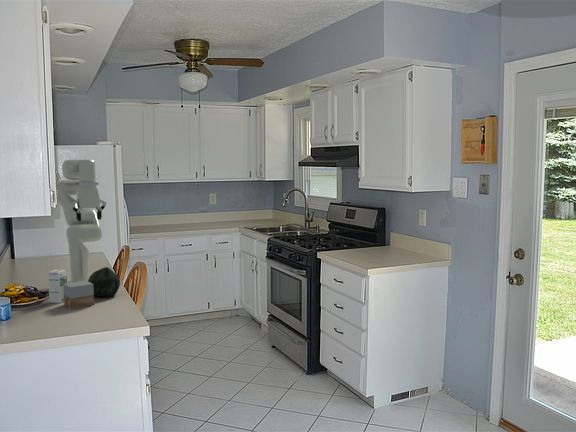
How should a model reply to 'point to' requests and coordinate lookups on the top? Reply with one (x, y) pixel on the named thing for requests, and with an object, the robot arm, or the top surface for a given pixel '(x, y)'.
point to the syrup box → (57, 285)
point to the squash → (105, 282)
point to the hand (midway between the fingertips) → (89, 220)
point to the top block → (78, 289)
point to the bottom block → (78, 301)
